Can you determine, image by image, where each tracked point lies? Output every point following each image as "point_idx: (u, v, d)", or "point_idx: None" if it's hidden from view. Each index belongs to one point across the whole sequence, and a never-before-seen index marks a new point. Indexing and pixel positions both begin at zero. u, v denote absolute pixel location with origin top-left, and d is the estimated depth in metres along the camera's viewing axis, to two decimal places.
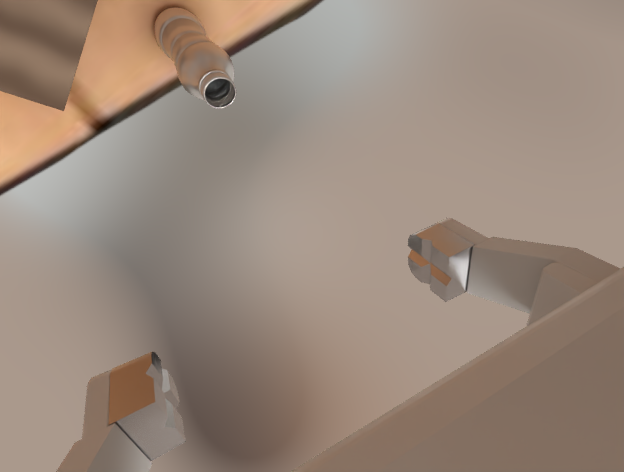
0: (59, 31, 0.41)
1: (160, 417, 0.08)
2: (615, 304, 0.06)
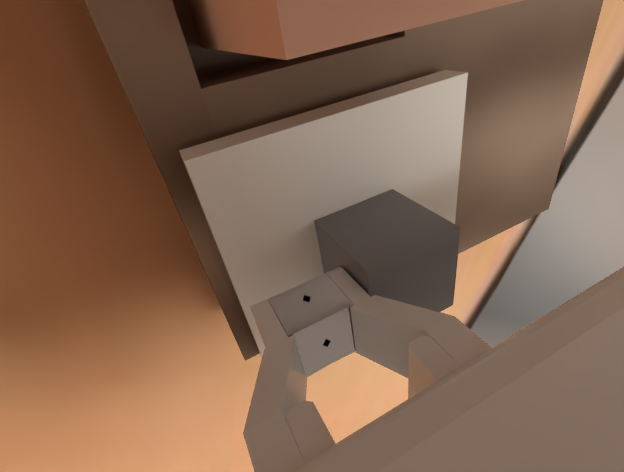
0: (559, 11, 0.13)
1: (322, 335, 0.09)
2: (615, 304, 0.06)
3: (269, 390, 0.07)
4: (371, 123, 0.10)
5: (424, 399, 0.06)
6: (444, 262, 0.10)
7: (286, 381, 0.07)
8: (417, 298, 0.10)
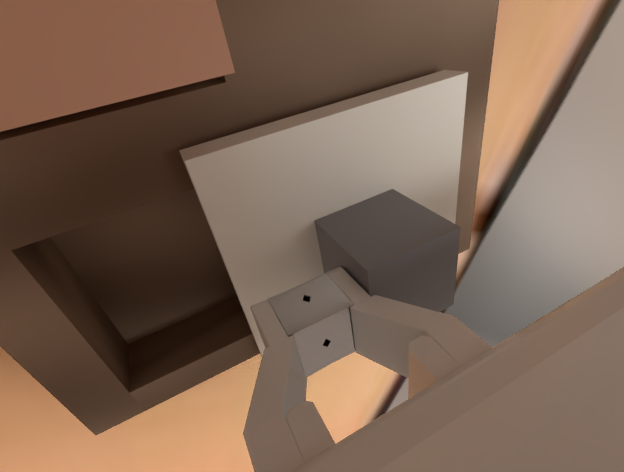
0: (438, 44, 0.11)
1: (322, 335, 0.09)
2: (615, 304, 0.06)
3: (269, 390, 0.07)
4: (371, 123, 0.10)
5: (424, 399, 0.06)
6: (444, 262, 0.10)
7: (286, 381, 0.07)
8: (417, 297, 0.10)
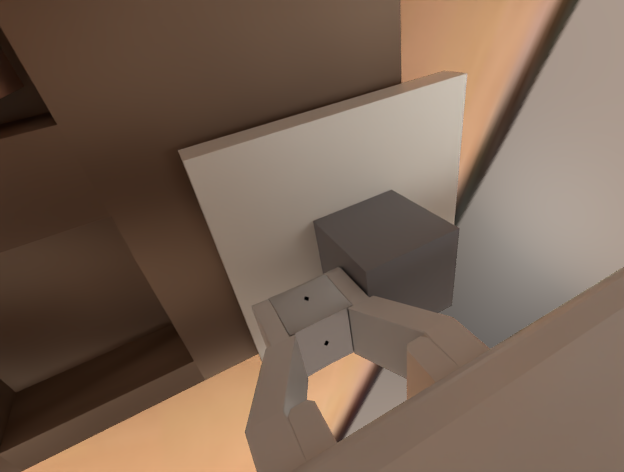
0: (331, 74, 0.10)
1: (323, 334, 0.09)
2: (615, 304, 0.06)
3: (271, 389, 0.07)
4: (370, 123, 0.10)
5: (424, 399, 0.06)
6: (443, 263, 0.10)
7: (288, 380, 0.07)
8: (416, 298, 0.10)
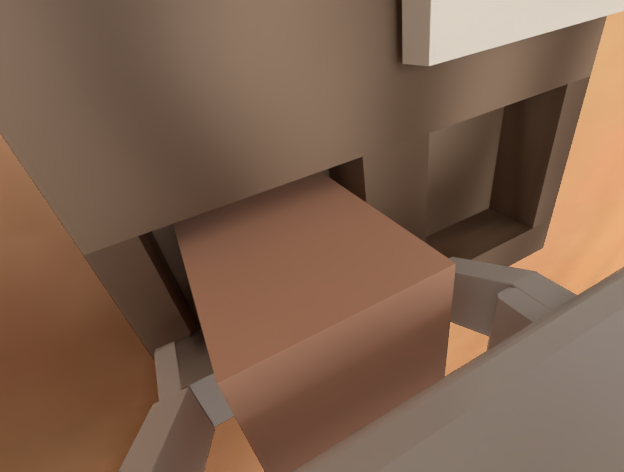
0: None
1: None
2: (615, 304, 0.06)
3: (140, 458, 0.06)
4: None
5: (424, 399, 0.06)
6: None
7: (162, 447, 0.06)
8: None
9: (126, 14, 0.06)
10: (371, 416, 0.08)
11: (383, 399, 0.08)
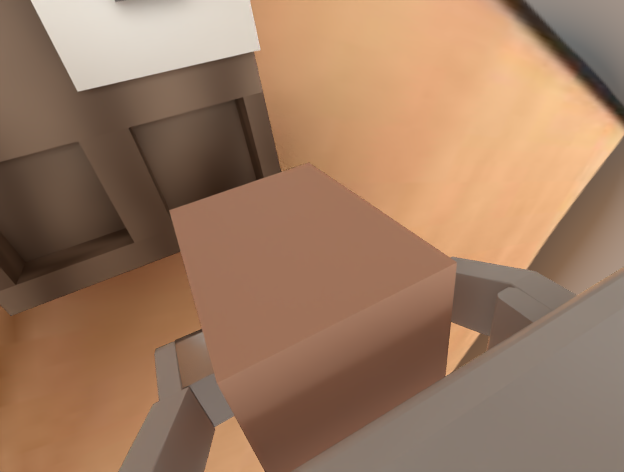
0: None
1: None
2: (615, 304, 0.06)
3: (141, 458, 0.06)
4: None
5: (424, 399, 0.06)
6: None
7: (162, 447, 0.06)
8: None
9: None
10: (371, 416, 0.08)
11: (384, 399, 0.08)
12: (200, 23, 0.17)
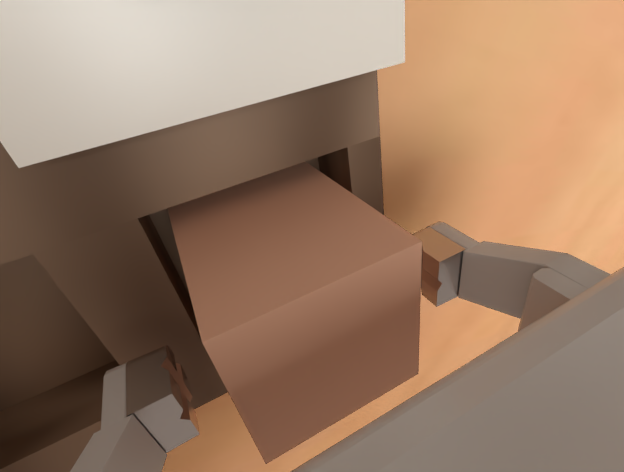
0: None
1: (176, 409, 0.08)
2: (615, 304, 0.06)
3: None
4: None
5: (424, 399, 0.06)
6: None
7: None
8: None
9: None
10: (349, 385, 0.09)
11: (359, 369, 0.09)
12: (302, 5, 0.07)
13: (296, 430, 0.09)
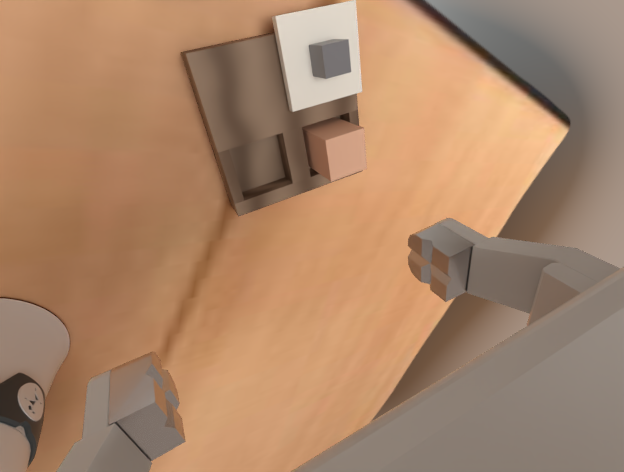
0: (272, 63, 0.36)
1: (160, 417, 0.08)
2: (615, 304, 0.06)
3: None
4: (288, 57, 0.35)
5: (424, 399, 0.06)
6: (331, 49, 0.34)
7: None
8: (340, 57, 0.34)
9: (231, 104, 0.36)
10: (349, 164, 0.40)
11: (352, 160, 0.40)
12: (340, 82, 0.39)
13: (338, 173, 0.40)
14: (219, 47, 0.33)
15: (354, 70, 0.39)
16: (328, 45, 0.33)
